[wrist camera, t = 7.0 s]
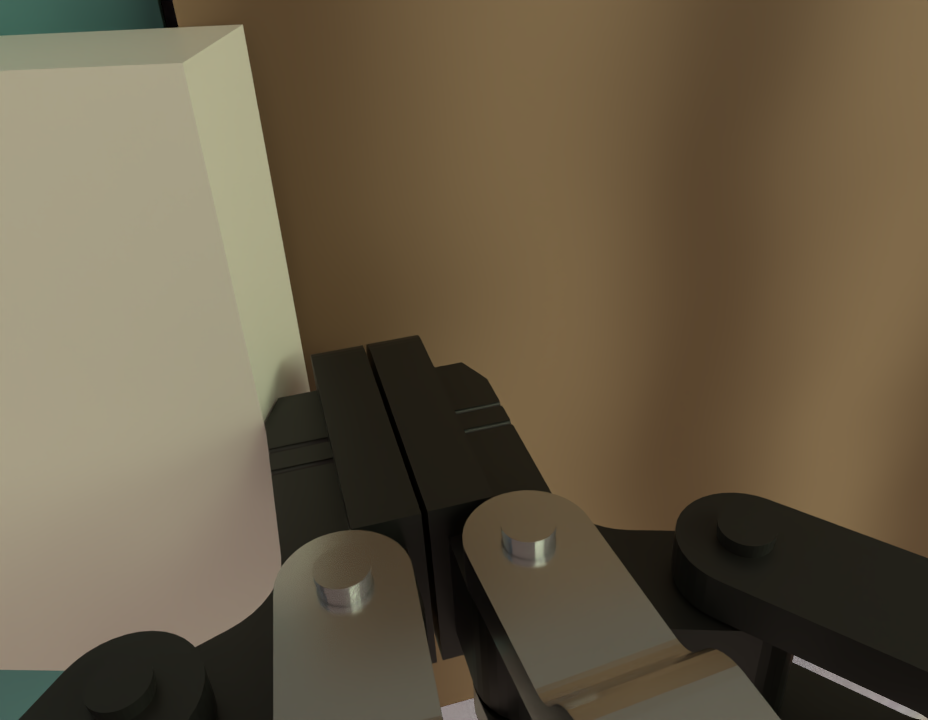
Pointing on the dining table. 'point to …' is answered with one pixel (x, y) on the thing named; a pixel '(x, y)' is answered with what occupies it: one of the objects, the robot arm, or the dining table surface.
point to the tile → (136, 340)
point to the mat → (41, 12)
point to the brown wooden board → (624, 233)
